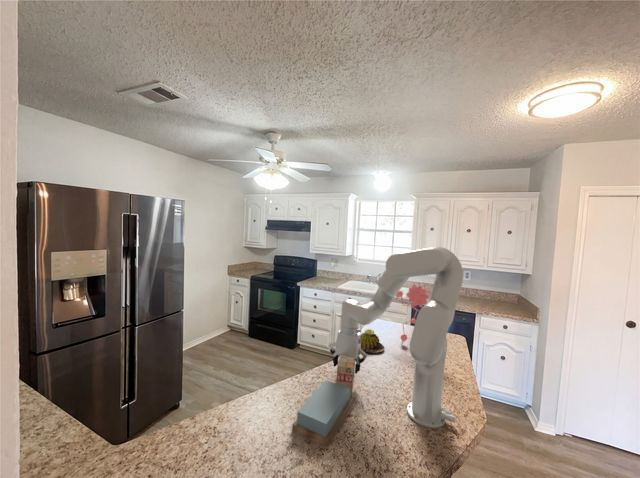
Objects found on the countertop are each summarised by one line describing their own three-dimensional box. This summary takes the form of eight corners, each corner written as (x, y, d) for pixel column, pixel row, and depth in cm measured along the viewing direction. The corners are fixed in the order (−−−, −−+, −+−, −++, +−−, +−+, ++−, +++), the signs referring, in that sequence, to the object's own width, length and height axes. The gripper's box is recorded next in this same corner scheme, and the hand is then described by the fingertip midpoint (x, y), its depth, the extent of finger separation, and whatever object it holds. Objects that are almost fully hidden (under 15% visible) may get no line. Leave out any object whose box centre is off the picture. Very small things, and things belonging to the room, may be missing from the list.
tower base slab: (353, 409, 97) (353, 399, 96) (326, 453, 77) (326, 440, 77) (323, 398, 102) (324, 388, 102) (291, 436, 83) (292, 424, 83)
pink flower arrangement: (431, 358, 138) (436, 291, 137) (387, 341, 157) (391, 282, 155) (442, 349, 149) (447, 288, 147) (400, 334, 167) (404, 279, 166)
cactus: (350, 350, 142) (352, 332, 142) (355, 339, 158) (356, 322, 157) (383, 356, 138) (385, 338, 137) (385, 344, 153) (386, 327, 153)
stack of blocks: (341, 367, 124) (343, 341, 124) (354, 369, 123) (356, 343, 123) (335, 395, 103) (337, 364, 103) (351, 398, 102) (353, 367, 102)
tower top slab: (349, 399, 96) (350, 388, 96) (325, 437, 78) (326, 424, 78) (324, 390, 101) (325, 380, 100) (296, 423, 83) (297, 411, 83)
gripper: (371, 331, 111) (368, 370, 112) (333, 322, 119) (331, 358, 120) (366, 337, 105) (362, 379, 106) (326, 327, 112) (324, 366, 113)
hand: (346, 368), depth 113 cm, fingers open, 9 cm apart
